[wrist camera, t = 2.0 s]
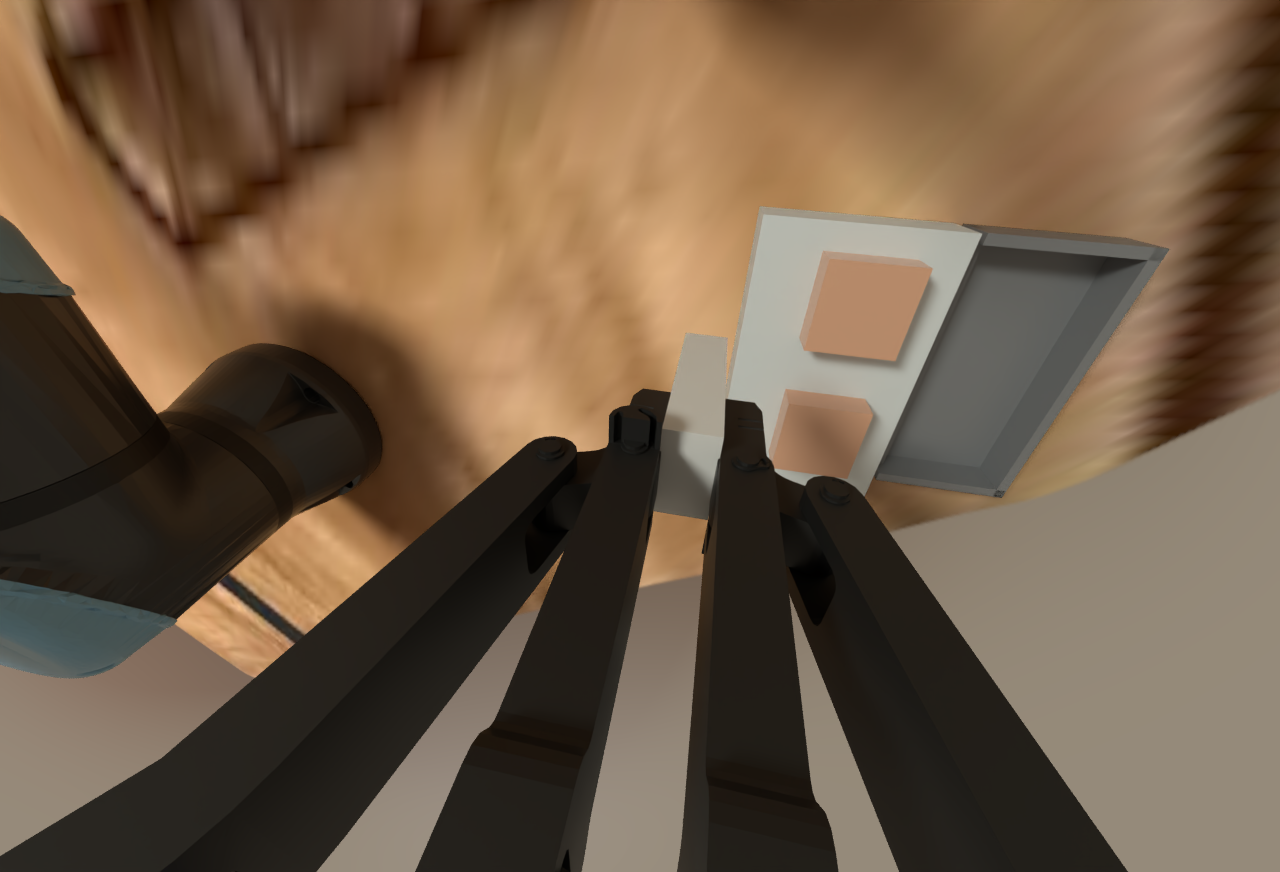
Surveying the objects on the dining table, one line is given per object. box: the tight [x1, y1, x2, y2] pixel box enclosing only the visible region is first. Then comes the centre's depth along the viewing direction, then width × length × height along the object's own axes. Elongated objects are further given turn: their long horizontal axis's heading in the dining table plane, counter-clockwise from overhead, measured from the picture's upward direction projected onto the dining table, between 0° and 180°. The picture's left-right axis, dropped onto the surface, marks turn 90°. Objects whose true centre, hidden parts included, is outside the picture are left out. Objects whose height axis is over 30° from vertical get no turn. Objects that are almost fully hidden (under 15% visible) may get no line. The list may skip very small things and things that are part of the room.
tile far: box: [769, 389, 873, 479], centre depth 30 cm, size 5×5×2 cm
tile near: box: [799, 251, 933, 361], centre depth 25 cm, size 5×5×2 cm
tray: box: [874, 224, 1169, 498], centre depth 29 cm, size 8×16×3 cm, turn 177°
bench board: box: [725, 206, 982, 497], centre depth 30 cm, size 11×18×4 cm, turn 177°
